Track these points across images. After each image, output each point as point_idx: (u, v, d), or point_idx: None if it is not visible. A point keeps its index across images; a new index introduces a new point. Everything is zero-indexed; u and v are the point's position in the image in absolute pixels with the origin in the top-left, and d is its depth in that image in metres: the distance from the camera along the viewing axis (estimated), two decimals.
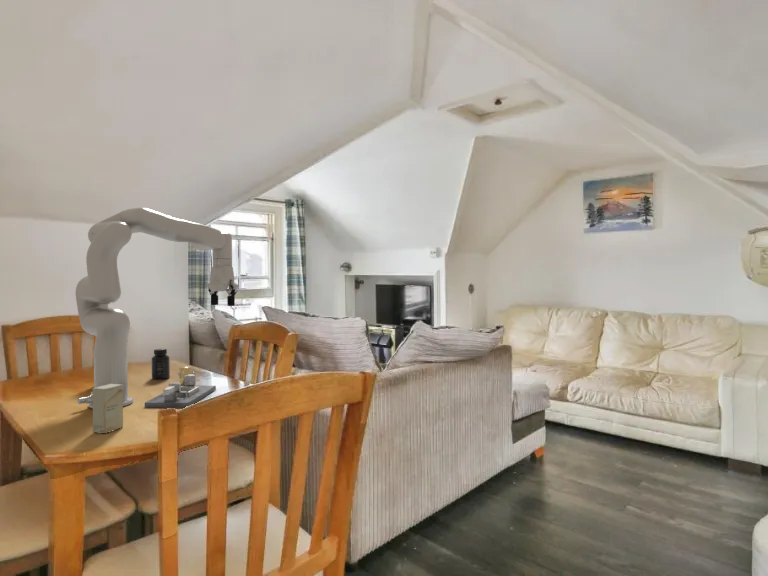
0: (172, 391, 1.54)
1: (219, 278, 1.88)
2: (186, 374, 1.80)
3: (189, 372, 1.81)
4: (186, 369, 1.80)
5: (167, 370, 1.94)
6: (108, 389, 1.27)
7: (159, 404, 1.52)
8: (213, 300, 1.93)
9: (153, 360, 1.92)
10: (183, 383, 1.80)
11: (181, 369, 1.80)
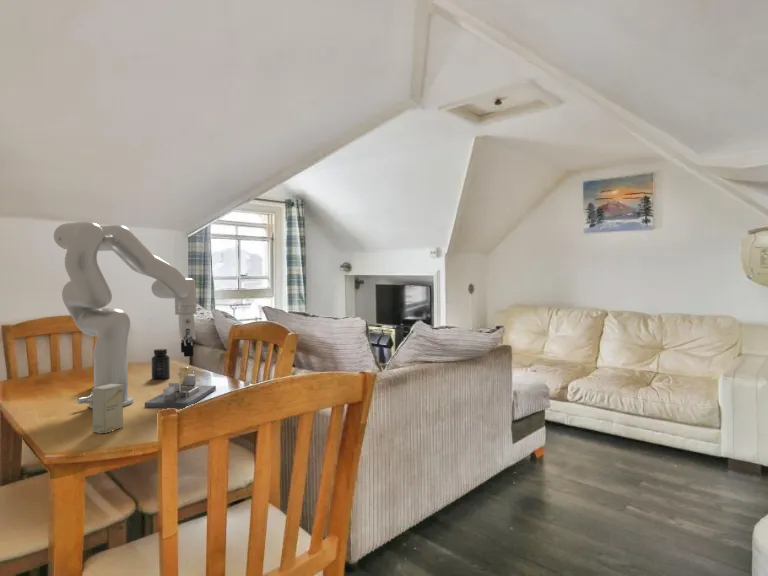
0: (172, 391, 1.54)
1: None
2: (186, 374, 1.80)
3: (189, 372, 1.81)
4: (186, 369, 1.80)
5: (167, 370, 1.94)
6: (108, 389, 1.27)
7: (159, 404, 1.52)
8: None
9: (153, 360, 1.92)
10: (183, 383, 1.80)
11: (181, 369, 1.80)
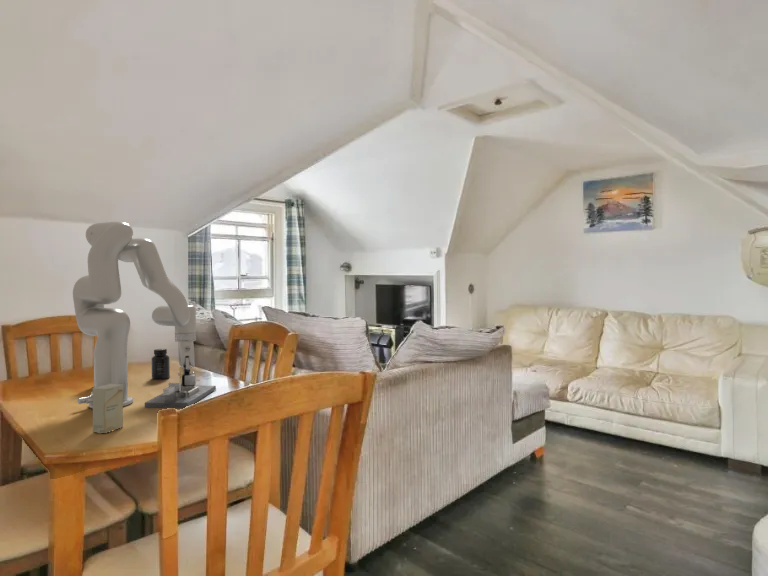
0: (172, 391, 1.54)
1: None
2: None
3: None
4: None
5: (167, 370, 1.94)
6: (108, 389, 1.27)
7: (159, 404, 1.52)
8: None
9: (153, 360, 1.92)
10: None
11: (181, 369, 1.80)
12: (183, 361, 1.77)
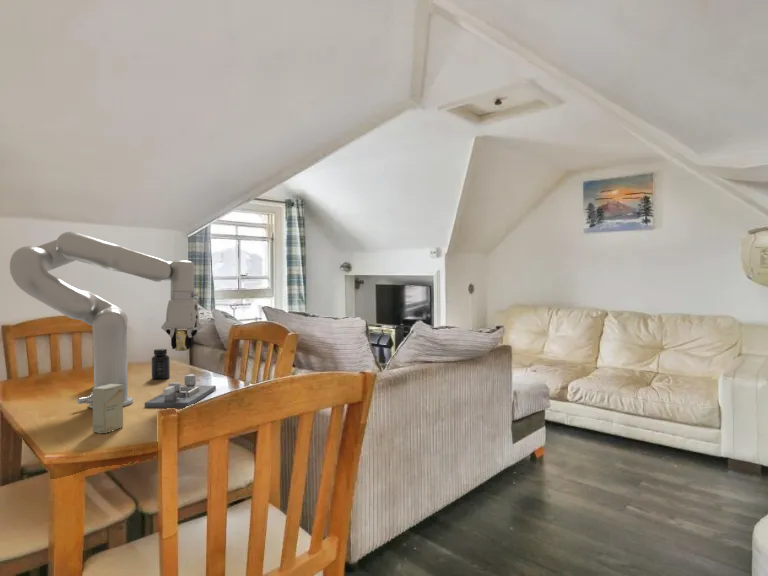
0: (172, 391, 1.54)
1: None
2: None
3: None
4: None
5: (167, 370, 1.94)
6: (108, 389, 1.27)
7: (159, 404, 1.52)
8: None
9: (153, 360, 1.92)
10: (186, 346, 1.64)
11: (184, 331, 1.63)
12: (195, 321, 1.63)
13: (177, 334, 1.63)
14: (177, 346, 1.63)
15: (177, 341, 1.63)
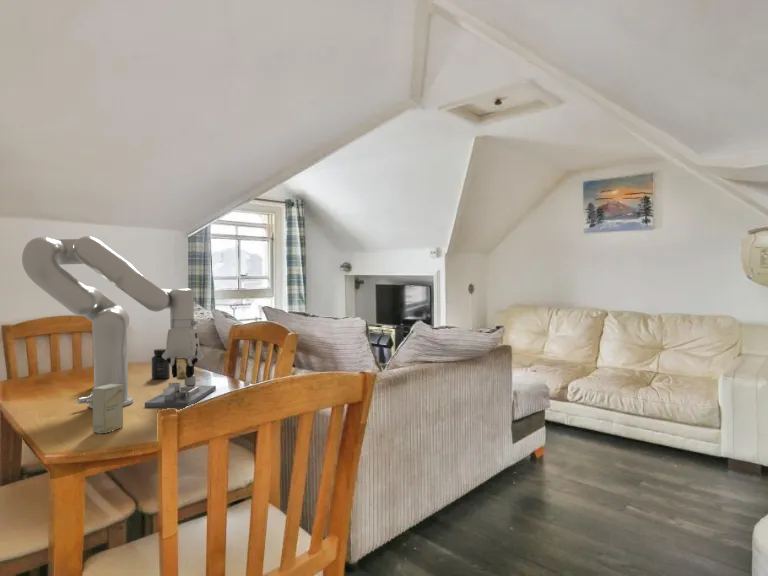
0: (172, 391, 1.54)
1: None
2: None
3: None
4: None
5: (167, 370, 1.94)
6: (108, 389, 1.27)
7: (159, 404, 1.52)
8: None
9: (153, 360, 1.92)
10: None
11: (184, 360, 1.62)
12: (195, 349, 1.62)
13: (178, 363, 1.62)
14: (178, 375, 1.62)
15: (178, 370, 1.62)
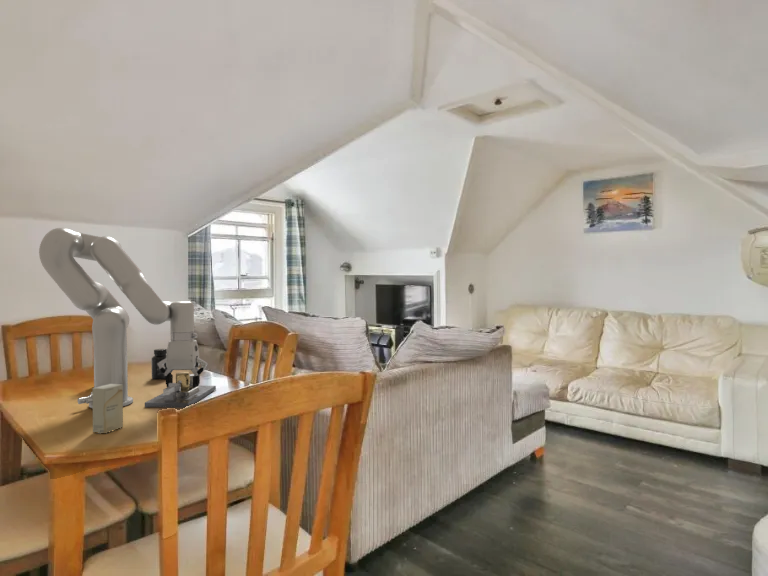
0: (172, 391, 1.54)
1: None
2: (189, 380, 1.64)
3: (189, 377, 1.65)
4: (189, 374, 1.64)
5: None
6: (108, 389, 1.27)
7: (159, 404, 1.52)
8: None
9: (153, 360, 1.92)
10: (187, 390, 1.63)
11: (184, 375, 1.62)
12: (195, 362, 1.62)
13: (177, 378, 1.62)
14: None
15: None
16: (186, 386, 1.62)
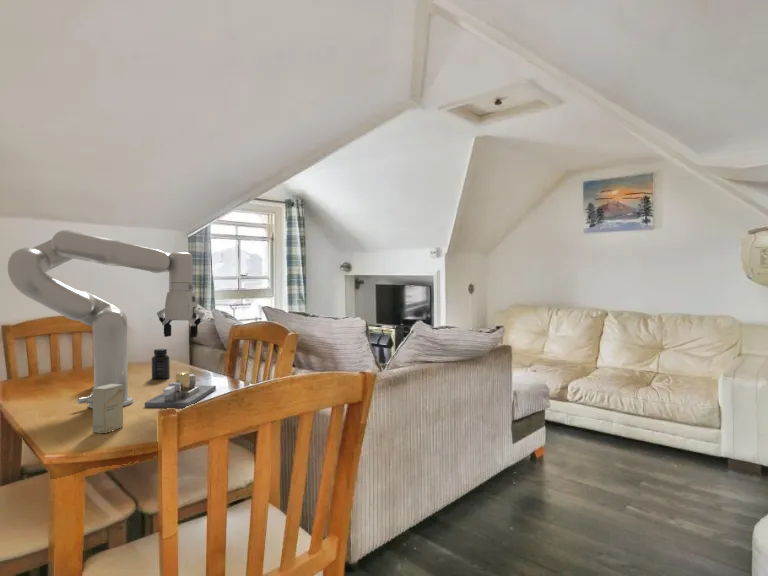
0: (172, 391, 1.54)
1: None
2: (188, 380, 1.64)
3: None
4: (188, 374, 1.64)
5: (167, 370, 1.94)
6: (108, 389, 1.27)
7: (159, 404, 1.52)
8: None
9: (153, 360, 1.92)
10: (187, 390, 1.63)
11: (184, 375, 1.62)
12: (192, 312, 1.63)
13: (177, 378, 1.62)
14: None
15: None
16: (186, 386, 1.62)
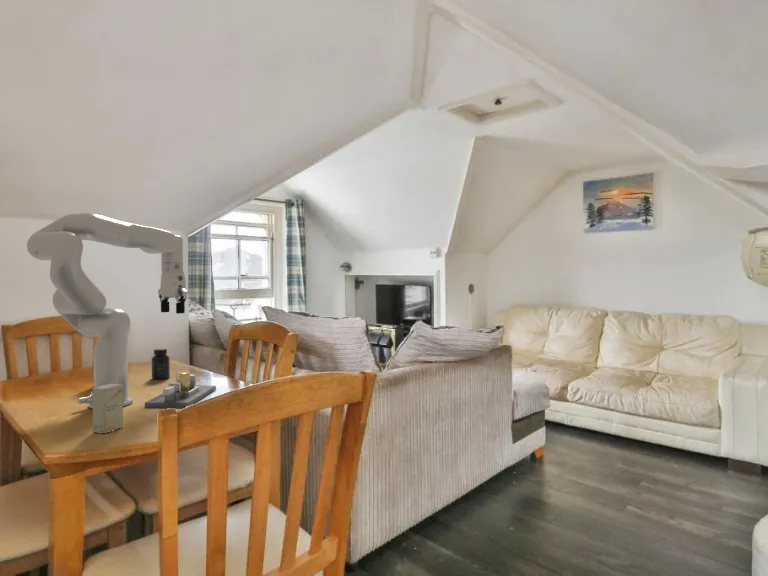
0: (172, 391, 1.54)
1: None
2: (189, 380, 1.64)
3: None
4: (189, 374, 1.64)
5: (167, 370, 1.94)
6: (108, 389, 1.27)
7: (159, 404, 1.52)
8: None
9: (153, 360, 1.92)
10: (187, 390, 1.63)
11: (185, 375, 1.62)
12: (177, 290, 1.76)
13: (178, 378, 1.62)
14: None
15: None
16: (186, 386, 1.63)
